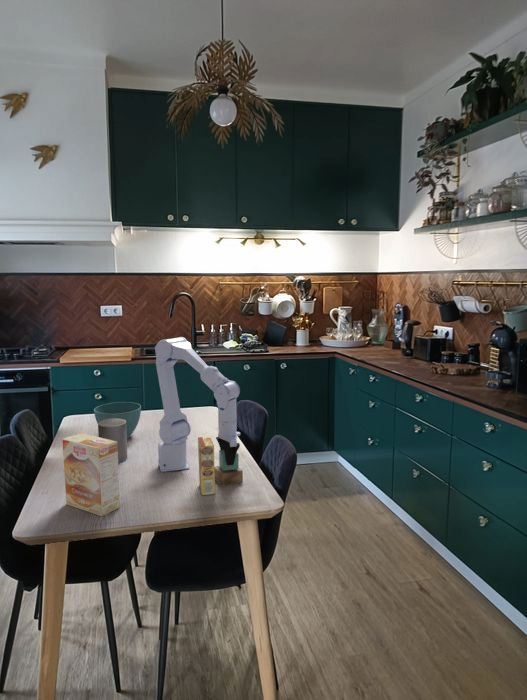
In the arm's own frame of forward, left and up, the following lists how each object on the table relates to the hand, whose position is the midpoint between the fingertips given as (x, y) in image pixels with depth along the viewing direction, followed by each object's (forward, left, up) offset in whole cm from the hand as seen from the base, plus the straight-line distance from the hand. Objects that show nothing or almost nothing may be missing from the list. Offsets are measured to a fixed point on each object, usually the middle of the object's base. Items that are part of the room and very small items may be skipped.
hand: (228, 461), depth 163 cm
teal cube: (0, 0, -2) cm, 2 cm away
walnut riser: (0, 0, -6) cm, 6 cm away
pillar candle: (-34, +31, -6) cm, 46 cm away
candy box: (-8, -5, -6) cm, 11 cm away
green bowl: (-31, +57, -6) cm, 65 cm away
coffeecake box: (-41, -6, -6) cm, 42 cm away
